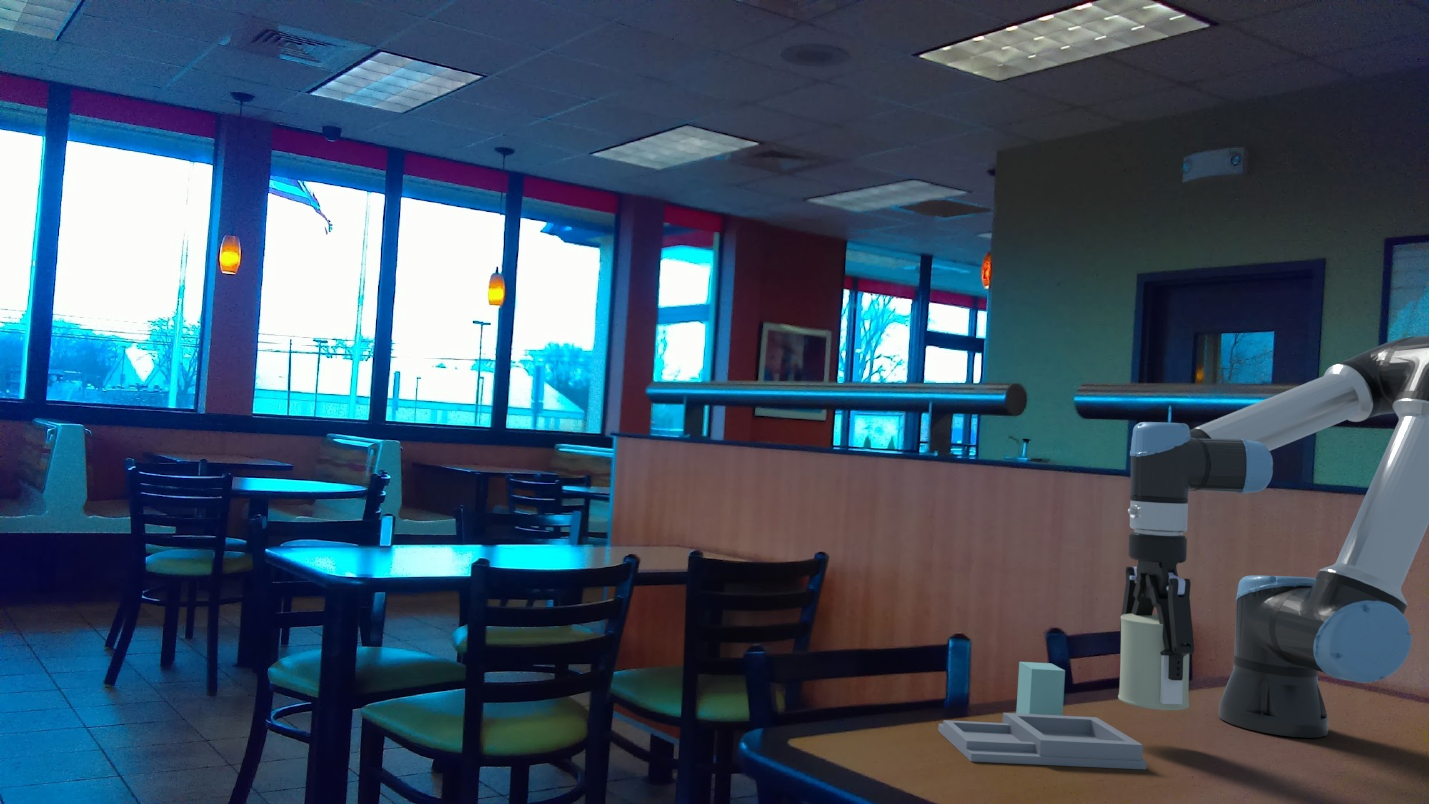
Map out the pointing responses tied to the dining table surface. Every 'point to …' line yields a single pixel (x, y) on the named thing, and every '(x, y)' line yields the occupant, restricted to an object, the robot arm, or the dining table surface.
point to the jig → (1045, 741)
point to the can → (1145, 663)
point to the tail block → (1040, 689)
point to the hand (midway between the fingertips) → (1153, 694)
